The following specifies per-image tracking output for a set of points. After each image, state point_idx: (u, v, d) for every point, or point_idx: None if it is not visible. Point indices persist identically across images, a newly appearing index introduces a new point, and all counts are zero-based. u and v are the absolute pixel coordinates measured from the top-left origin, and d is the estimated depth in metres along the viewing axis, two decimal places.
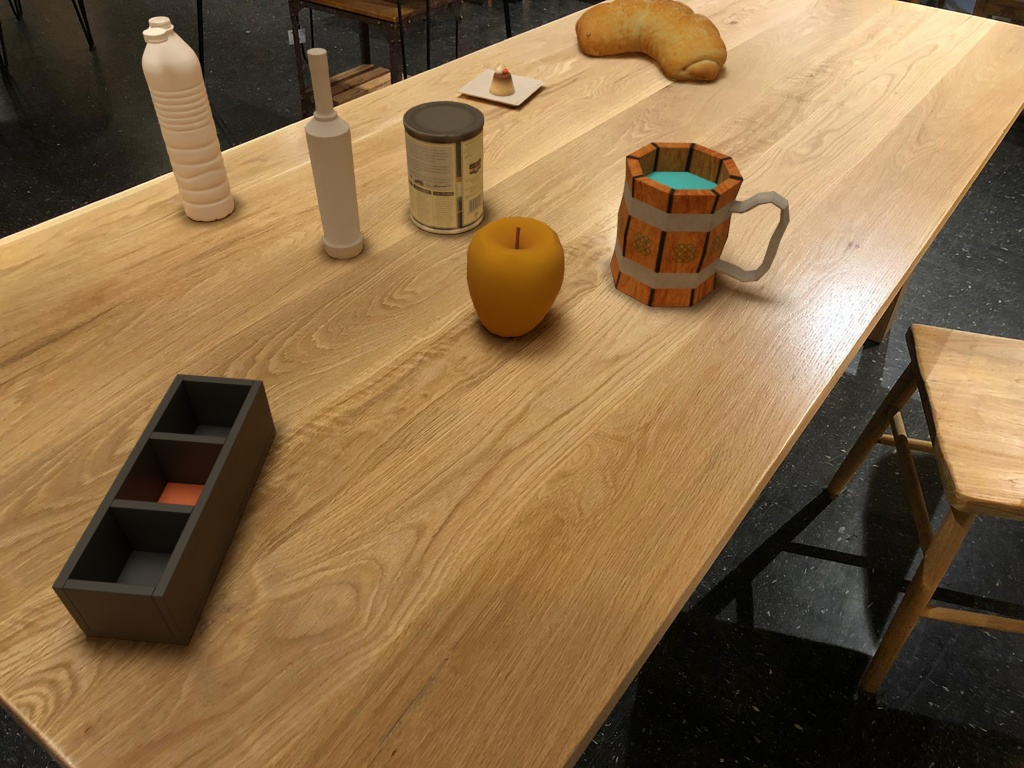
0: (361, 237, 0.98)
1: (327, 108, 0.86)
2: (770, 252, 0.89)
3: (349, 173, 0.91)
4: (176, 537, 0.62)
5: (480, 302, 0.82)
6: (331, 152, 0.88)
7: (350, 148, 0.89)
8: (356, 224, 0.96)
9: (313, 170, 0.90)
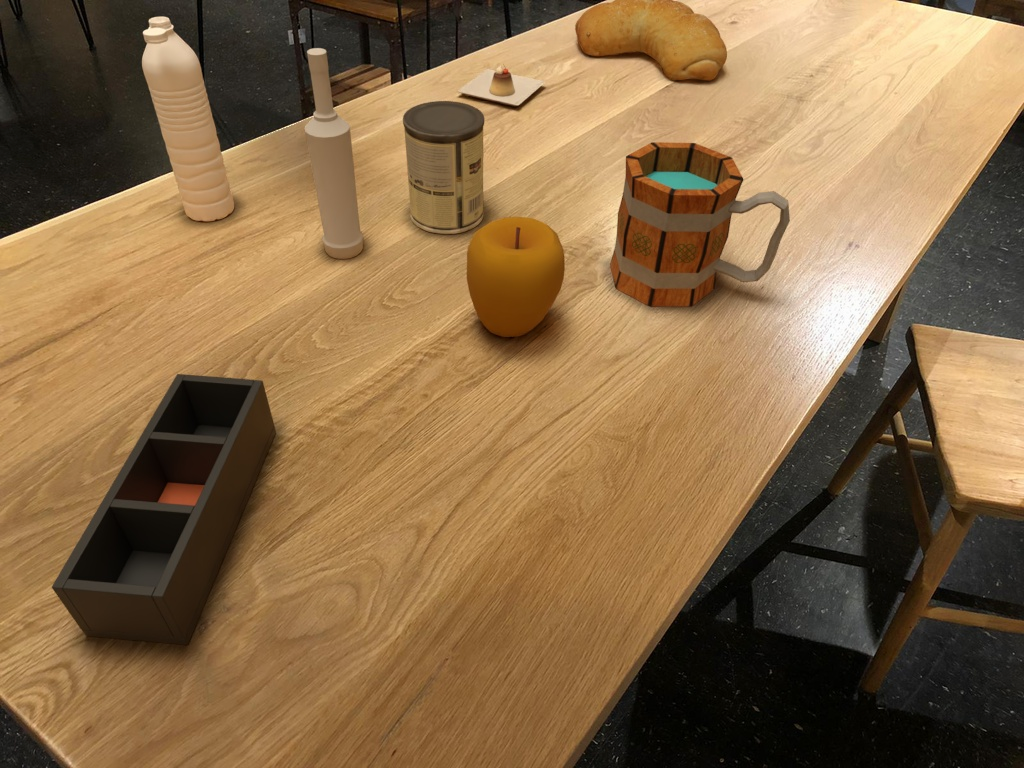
0: (361, 237, 0.98)
1: (327, 108, 0.86)
2: (770, 252, 0.89)
3: (349, 173, 0.91)
4: (176, 537, 0.62)
5: (480, 302, 0.82)
6: (331, 152, 0.88)
7: (350, 148, 0.89)
8: (356, 224, 0.96)
9: (313, 170, 0.90)
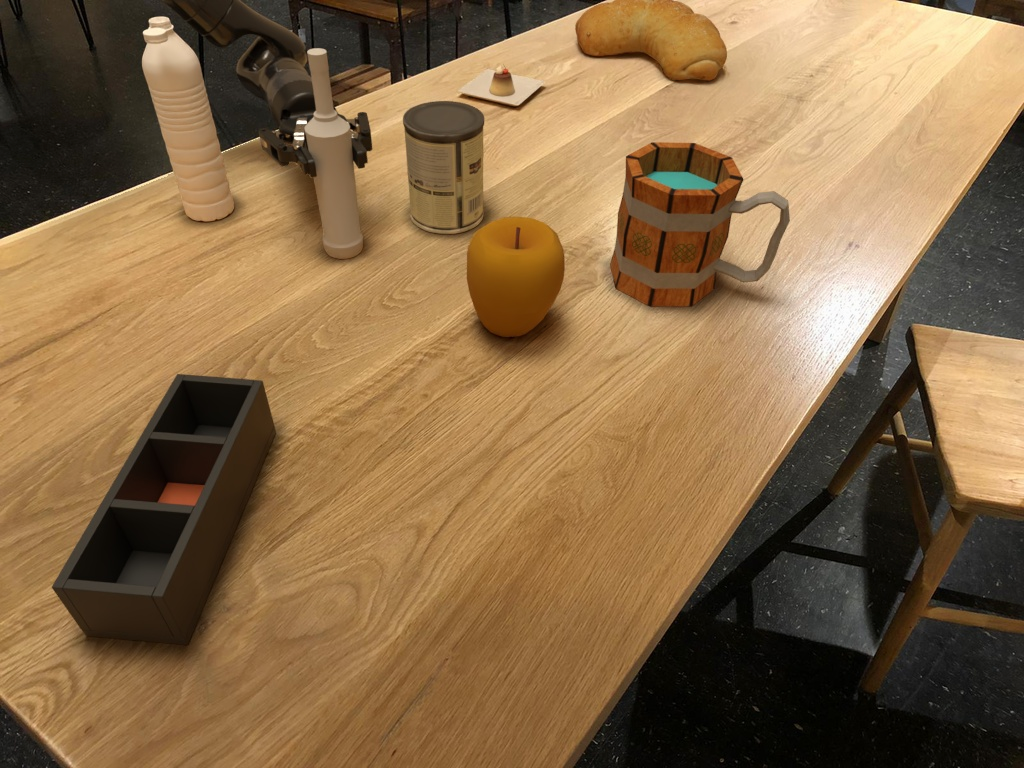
0: (361, 237, 0.98)
1: (327, 108, 0.86)
2: (770, 251, 0.89)
3: (349, 173, 0.91)
4: (176, 537, 0.62)
5: (480, 302, 0.82)
6: (331, 153, 0.88)
7: (350, 148, 0.89)
8: (356, 224, 0.96)
9: None
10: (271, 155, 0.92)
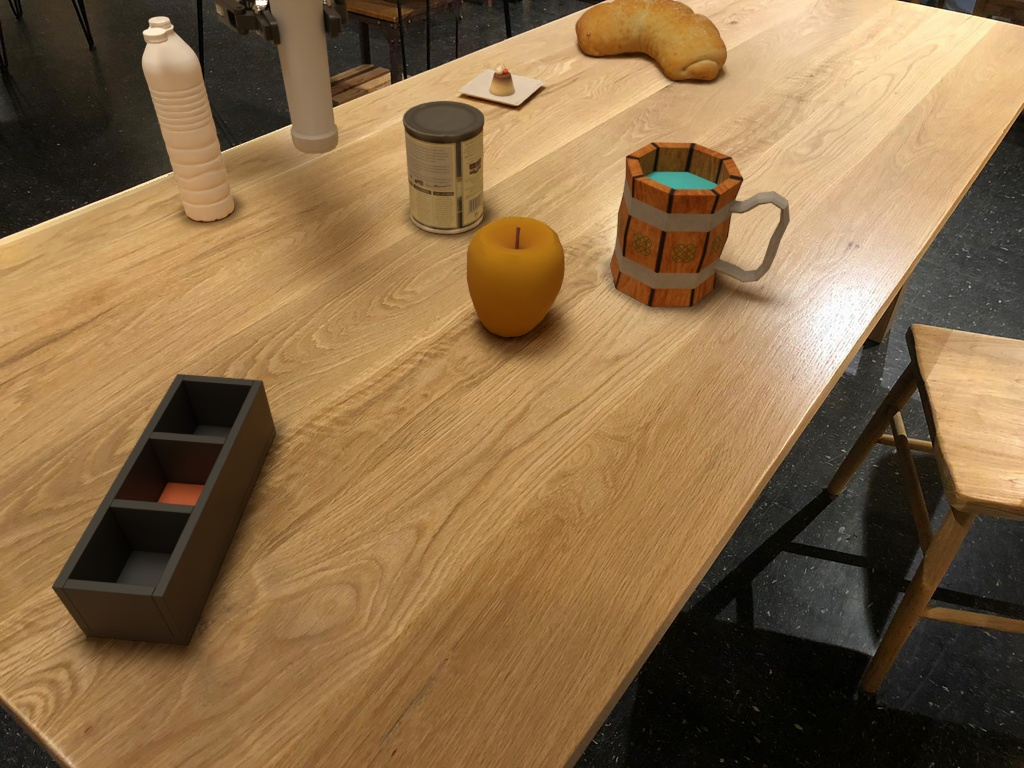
0: (335, 129, 0.84)
1: None
2: (770, 252, 0.89)
3: (319, 43, 0.77)
4: (176, 537, 0.62)
5: (480, 302, 0.82)
6: (297, 14, 0.74)
7: (321, 12, 0.76)
8: (329, 111, 0.82)
9: None
10: (228, 23, 0.78)
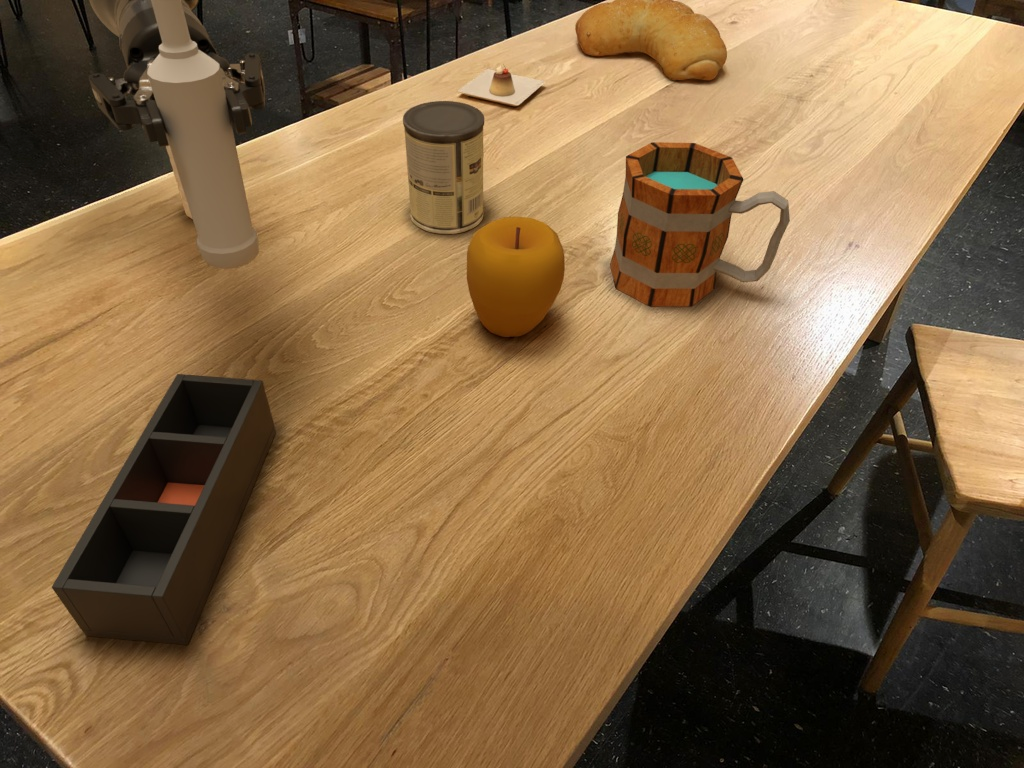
0: (254, 237, 0.67)
1: (178, 37, 0.55)
2: (770, 252, 0.89)
3: (223, 140, 0.60)
4: (176, 537, 0.62)
5: (480, 302, 0.82)
6: (189, 108, 0.57)
7: (222, 102, 0.59)
8: (243, 218, 0.65)
9: (167, 136, 0.59)
10: (107, 114, 0.61)
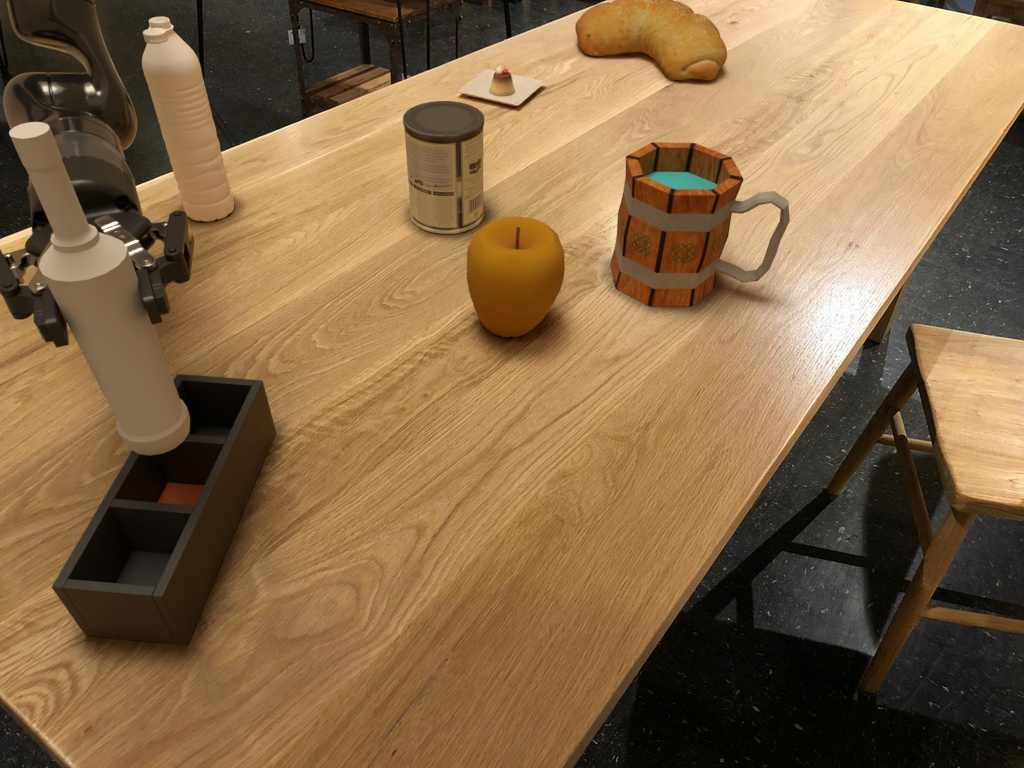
0: (183, 418, 0.59)
1: (71, 229, 0.46)
2: (770, 252, 0.89)
3: (135, 331, 0.51)
4: (176, 537, 0.62)
5: (480, 302, 0.82)
6: (89, 305, 0.48)
7: (132, 291, 0.50)
8: (167, 402, 0.56)
9: None
10: None
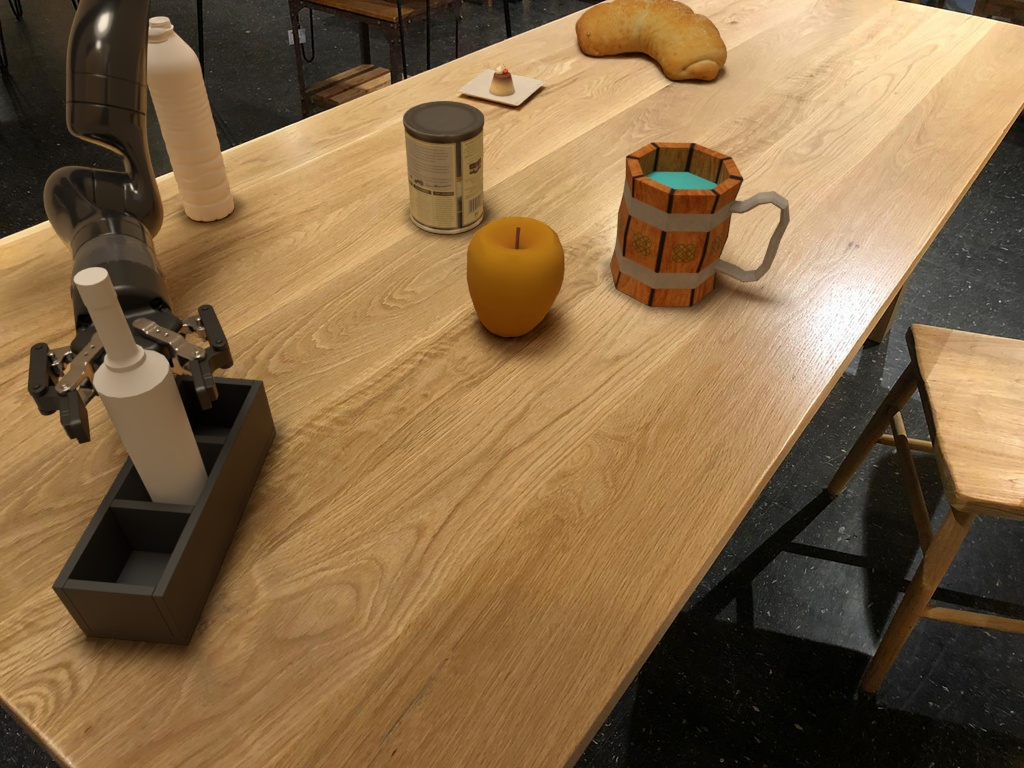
0: None
1: (123, 353, 0.53)
2: (770, 252, 0.89)
3: (174, 433, 0.58)
4: (176, 537, 0.62)
5: (480, 302, 0.82)
6: (136, 415, 0.55)
7: (172, 400, 0.57)
8: (200, 489, 0.63)
9: (117, 431, 0.57)
10: None
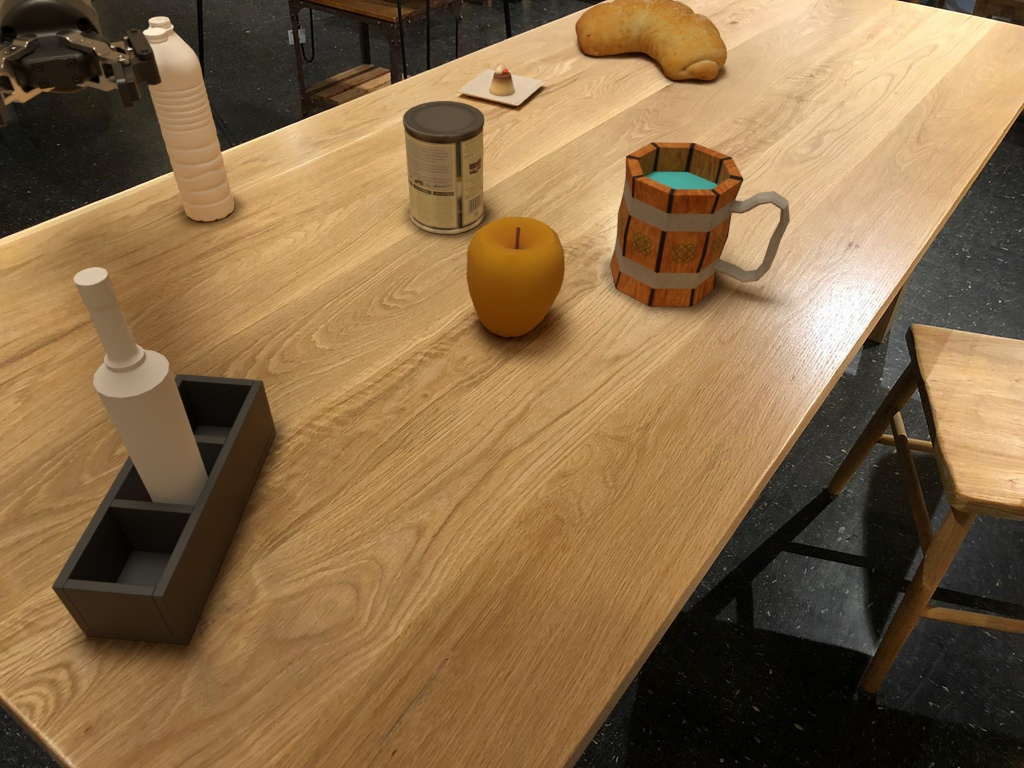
0: None
1: (123, 353, 0.53)
2: (770, 252, 0.89)
3: (174, 433, 0.58)
4: (176, 537, 0.62)
5: (480, 302, 0.82)
6: (136, 415, 0.55)
7: (172, 400, 0.57)
8: (200, 489, 0.63)
9: (117, 431, 0.57)
10: None
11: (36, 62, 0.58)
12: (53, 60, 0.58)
